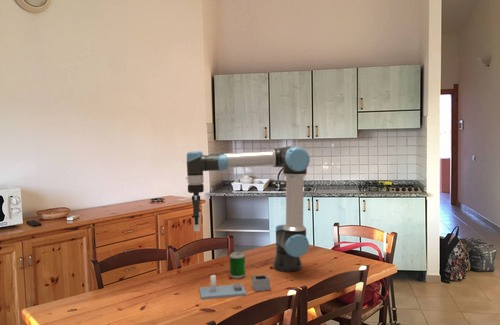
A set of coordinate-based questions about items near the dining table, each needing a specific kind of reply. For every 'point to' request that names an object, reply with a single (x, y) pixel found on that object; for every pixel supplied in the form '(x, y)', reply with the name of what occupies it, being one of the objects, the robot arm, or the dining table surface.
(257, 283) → the grey tapered block
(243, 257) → the soda can
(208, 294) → the keeper
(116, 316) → the dining table surface
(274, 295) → the dining table surface
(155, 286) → the dining table surface
